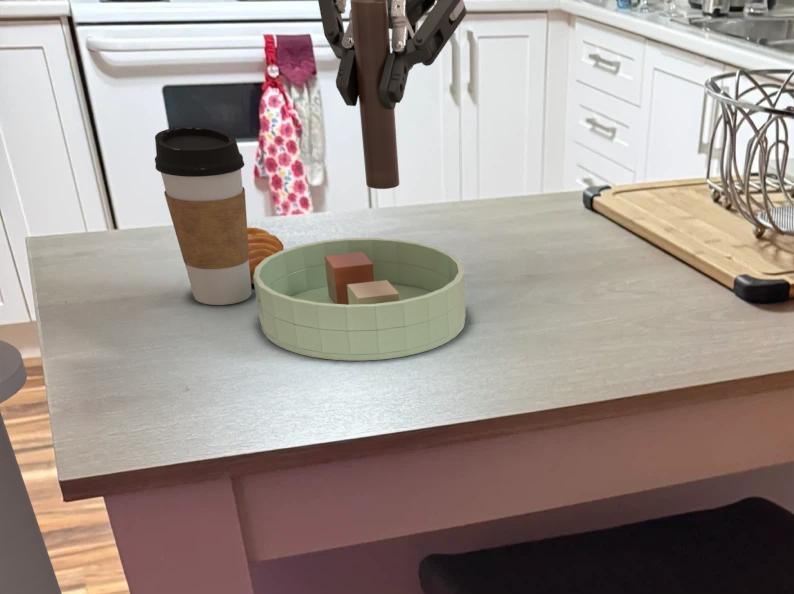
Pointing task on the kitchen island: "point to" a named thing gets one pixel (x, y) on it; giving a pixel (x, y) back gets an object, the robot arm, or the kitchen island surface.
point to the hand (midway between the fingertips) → (367, 100)
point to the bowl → (361, 323)
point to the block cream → (372, 293)
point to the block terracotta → (346, 274)
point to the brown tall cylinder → (374, 92)
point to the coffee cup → (207, 210)
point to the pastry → (261, 247)
